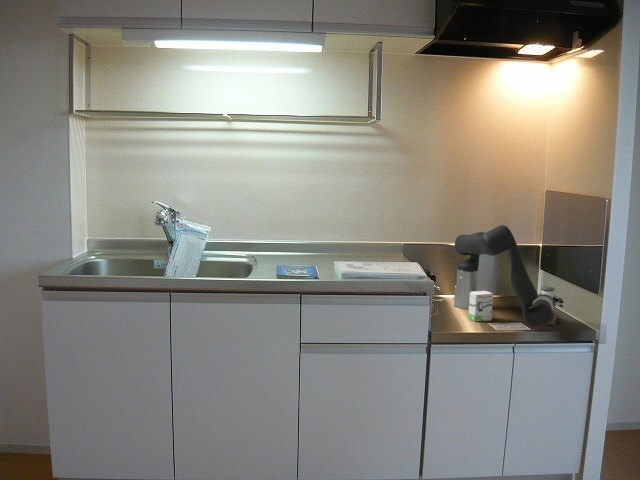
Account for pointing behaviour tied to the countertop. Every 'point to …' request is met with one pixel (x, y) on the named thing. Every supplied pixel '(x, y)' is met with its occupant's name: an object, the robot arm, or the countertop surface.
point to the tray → (553, 319)
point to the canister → (547, 290)
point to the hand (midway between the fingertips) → (547, 296)
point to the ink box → (480, 306)
